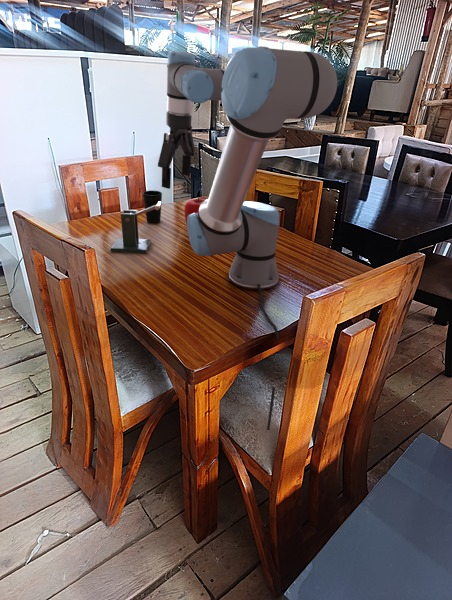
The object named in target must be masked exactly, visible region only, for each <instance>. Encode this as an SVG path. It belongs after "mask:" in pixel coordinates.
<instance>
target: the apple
mask: <svg viewBox="0 0 452 600" xmlns="http://www.w3.org/2000/svg"><path fill="white" fill-rule="evenodd" d="M205 200H206V199H203V198H199V197H198V198H193V199H189V200H187V201H186V203H185V204H184V210H183V211H184V219H185V225H186V227H187V218H188V216H189V215H190V214H193V213H198V211H199V208H200V205H201V204H202V203H203V202H204V201H205Z"/></svg>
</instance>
